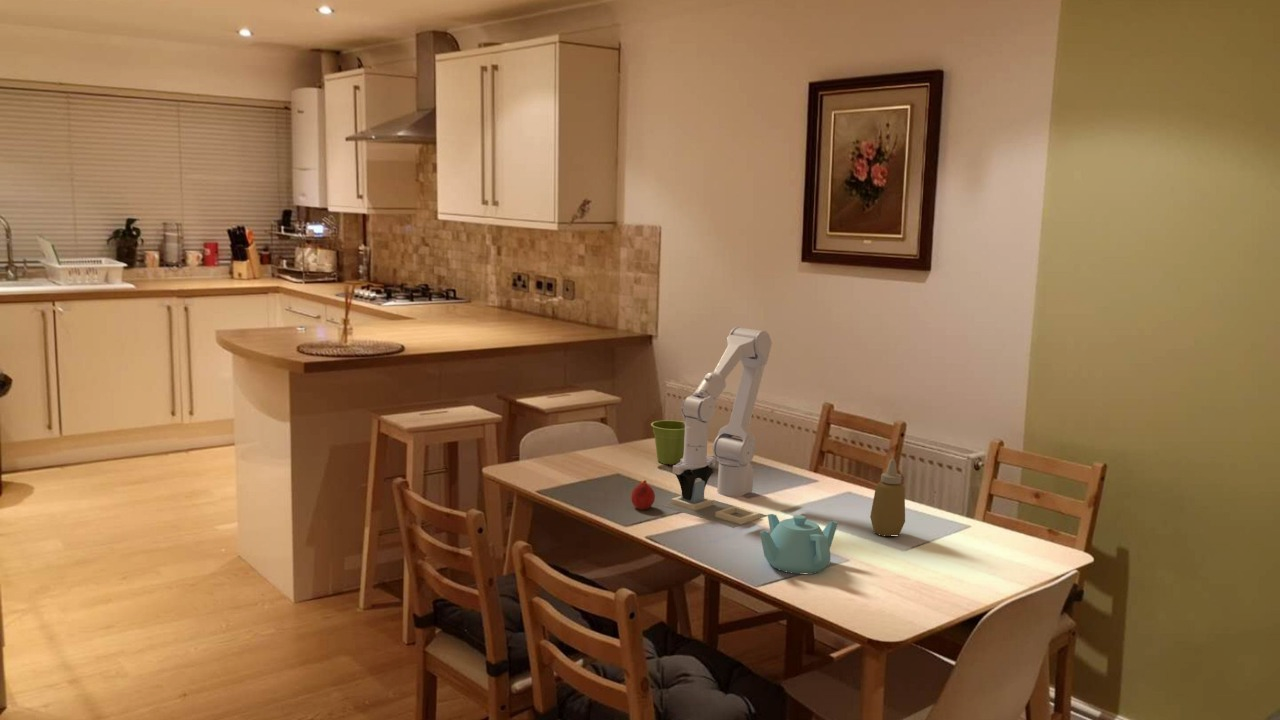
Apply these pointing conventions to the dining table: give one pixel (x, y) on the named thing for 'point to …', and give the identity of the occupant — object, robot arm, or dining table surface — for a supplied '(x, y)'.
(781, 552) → the teapot
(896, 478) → the squeeze bottle
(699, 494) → the plug
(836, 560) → the dining table surface
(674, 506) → the panel
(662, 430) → the plant pot
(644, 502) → the red pomegranate
